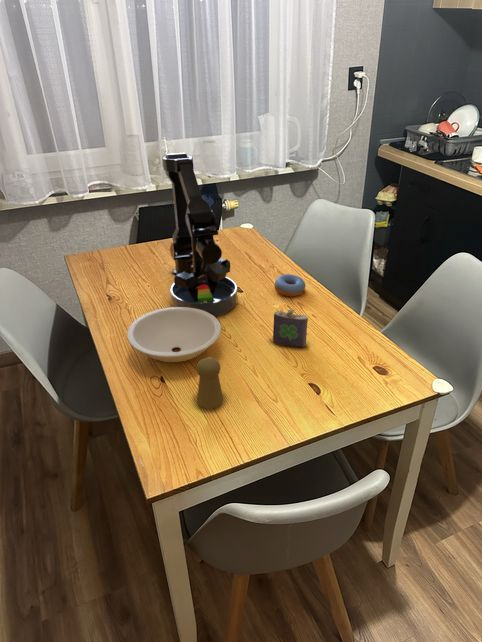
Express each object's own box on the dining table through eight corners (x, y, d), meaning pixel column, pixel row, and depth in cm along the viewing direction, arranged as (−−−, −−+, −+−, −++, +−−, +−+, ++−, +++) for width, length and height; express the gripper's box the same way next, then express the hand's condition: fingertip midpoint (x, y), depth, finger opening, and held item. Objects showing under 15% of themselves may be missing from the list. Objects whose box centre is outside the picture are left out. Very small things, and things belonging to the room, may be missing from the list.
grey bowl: (145, 388, 118) (141, 366, 114) (120, 339, 136) (116, 318, 132) (236, 362, 127) (236, 340, 124) (202, 319, 145) (200, 299, 142)
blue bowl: (158, 303, 153) (156, 289, 150) (204, 281, 166) (203, 268, 164) (205, 326, 142) (204, 310, 140) (250, 300, 156) (250, 286, 153)
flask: (306, 343, 135) (309, 309, 130) (304, 349, 133) (306, 314, 127) (274, 338, 137) (275, 304, 132) (271, 343, 135) (272, 309, 129)
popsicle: (207, 288, 161) (207, 283, 160) (217, 311, 149) (217, 305, 148) (190, 290, 159) (190, 285, 158) (199, 313, 147) (199, 308, 146)
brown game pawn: (197, 392, 117) (194, 354, 111) (223, 391, 117) (221, 353, 112) (196, 409, 112) (193, 370, 106) (223, 408, 112) (222, 369, 106)
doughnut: (310, 295, 159) (311, 282, 157) (283, 301, 156) (283, 288, 153) (295, 282, 167) (296, 269, 164) (269, 287, 163) (269, 275, 161)
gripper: (198, 268, 135) (201, 317, 143) (243, 247, 147) (243, 294, 155) (170, 257, 141) (175, 305, 149) (216, 238, 153) (217, 284, 161)
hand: (204, 297), depth 153 cm, fingers closed on popsicle, 7 cm apart
